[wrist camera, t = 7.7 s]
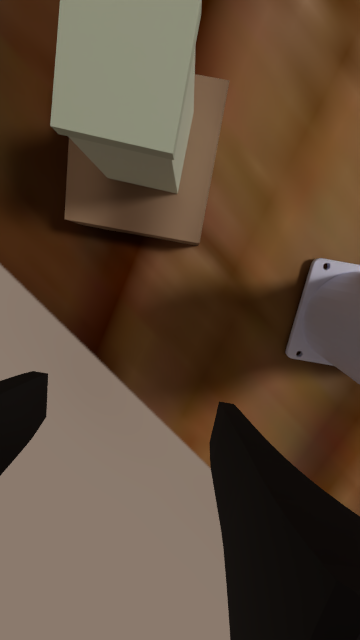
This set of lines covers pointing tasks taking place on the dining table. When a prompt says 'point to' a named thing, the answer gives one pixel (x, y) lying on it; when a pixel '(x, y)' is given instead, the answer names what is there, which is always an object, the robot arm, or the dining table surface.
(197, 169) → the tan flat square block
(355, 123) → the dining table surface
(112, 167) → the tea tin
